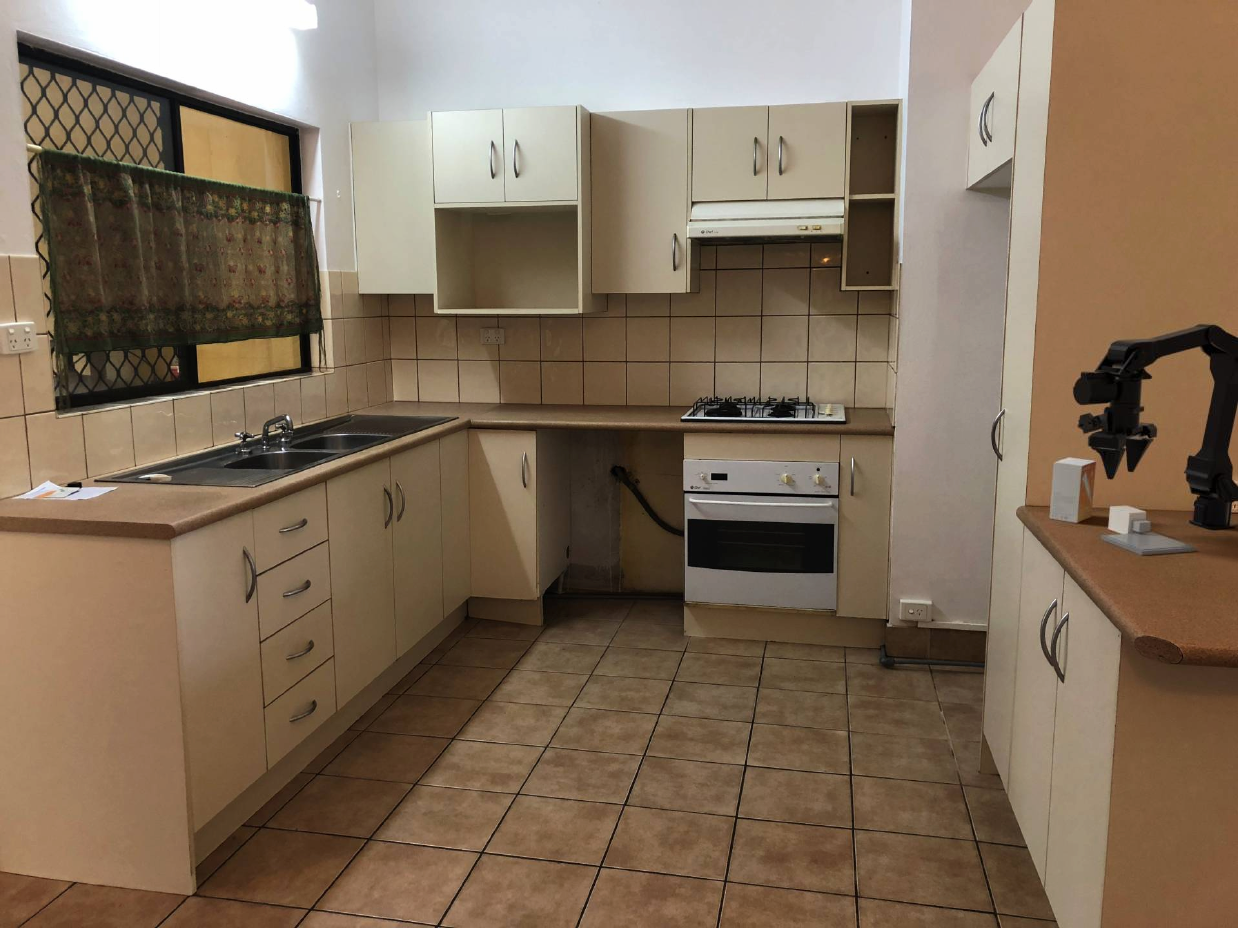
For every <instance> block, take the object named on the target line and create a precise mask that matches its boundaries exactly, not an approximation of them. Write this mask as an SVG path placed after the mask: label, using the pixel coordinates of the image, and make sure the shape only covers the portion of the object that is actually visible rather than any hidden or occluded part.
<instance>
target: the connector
mask: <svg viewBox="0 0 1238 928" xmlns="http://www.w3.org/2000/svg"><path fill="white" fill-rule="evenodd" d="M1146 519H1147V511H1145V510H1143V509H1142V510H1141V509H1138V508H1136V507H1132V506H1130V505H1115V506H1114V505H1113V506H1112V505H1111V506H1110V507H1109V517H1108V527H1107V529H1108V530H1110V531H1113V532H1116V533H1117V534H1129V533H1143V532H1151V525H1152V522H1151V521H1149V520H1146Z"/></svg>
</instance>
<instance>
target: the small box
mask: <svg viewBox="0 0 1238 928" xmlns="http://www.w3.org/2000/svg"><path fill="white" fill-rule="evenodd" d="M1096 467H1097V460H1091V459H1084V458H1077V457H1076V458H1075V457H1070V456H1068V457H1066V458H1064V459H1060V460H1057V461H1054V462H1053V468H1052V469H1053V471H1052V483H1051V484H1052V485H1051V495H1050V496H1051V497H1050V508H1049V510H1050V511H1049V519H1051V520H1055V521H1062V522H1067V523H1074V524H1078V523H1080V522H1082V521H1084V520H1086V519H1089V518H1091V517H1092V513H1093V512H1092V511H1093V501H1094V500H1093V499H1094V488H1095V478H1096Z"/></svg>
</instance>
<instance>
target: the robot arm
mask: <svg viewBox="0 0 1238 928" xmlns="http://www.w3.org/2000/svg"><path fill="white" fill-rule="evenodd" d="M1196 348H1199V349H1200V350H1201V352H1202V353H1204V354H1205V355H1206V356H1208V357H1209V371H1210V373H1211V376H1212V378H1213V389H1212V393H1211V399H1210V404H1209V408H1208V414H1207V419H1206V422H1205V423H1206V424H1205V428H1204V429H1205V430H1204V434H1203V438H1202V444H1201V447H1200V449H1199V450H1198V451H1197V453H1196V454H1195V455H1188V457H1187V460H1186V466H1185V470H1184V472H1183V473H1184V474H1185V480H1186V483H1188V485H1189V490H1190V494H1192V495H1196V502H1195V503H1194V507H1193V517H1192V519H1188V522H1189V523H1190V524H1194V525H1197V526H1200V527H1203V528H1205V529H1209V530H1217V529H1231V528H1236V526H1237V525H1236V524H1233V523H1232V522H1231V517H1232V508H1233V503H1235V502H1238V485H1237V483H1236V482H1235V480H1233V476H1234V475H1233V471H1234V467H1233V464H1232V461H1231V457H1230V455H1229V448H1230V444H1231V440H1232V439H1231V438H1232V435H1233V434H1232V433H1233V429H1234V424H1235V419H1236V414H1237V410H1238V336H1235V335H1233V334H1231V333H1229V332H1228V331H1226V330H1224V329H1223V328H1222V327H1221V326H1219V325H1217V324H1209V323H1199V324H1196V325H1195V326H1192V327H1188V328H1184V329H1181V330H1180V329H1179V330H1177V331H1174V332H1169V333H1165V334H1163V335H1159V336H1155V337H1150V338H1140V339H1139V338H1136V339H1135V338H1133V339H1129V338H1128V339H1117V340H1115V341H1113V342H1112V343H1111V344H1110V346H1109V348H1108V350H1107V352H1106V353H1105V355H1104V357H1103V358H1102V360H1101V361H1100V362H1099V364H1098V365H1097V367H1096V368H1095V370H1094V371H1081V372H1080V377H1079V378H1078V379H1076V381H1075V383H1074V386H1072V394H1073V398H1074V401H1075V402H1076V403H1077V404H1078V405H1080V406H1088V405H1090V406H1091V405H1101V404H1109V406H1105V407H1104V408H1103V413H1101V414H1098V415H1093V414H1092V413H1091V412H1088V413H1085V414H1080V415H1079V417H1078V421H1077V422H1078V424H1077V428H1078V429H1080V430H1082V433H1083V435H1085V434H1089V433H1091V434H1090V435H1089V436H1088V437H1087V446H1088V447H1090V448H1091V450H1092V451H1095V452H1096V453H1097V454H1098V455H1099V456H1100V459H1101V461H1102V465H1103V467H1104V472H1105V475H1106V479H1107V480H1112V481H1113V480H1114V479H1115V477H1116V474H1117V472H1118V470H1119V467H1120V465H1121V462H1122V460H1123V457H1124V456H1125V458H1126V468H1127V473H1128V472H1129V473H1134V472H1135V470H1136V468H1137V467H1138V465H1139V463H1140V461H1141V460H1142V458H1143V457H1144V455H1145V453H1146V452H1147V450H1148V449H1149V447H1150V445H1151V444H1152V443H1153V442H1154V438H1157V435H1158V427H1157V426H1156V425H1155V424H1154V423H1151V422H1143V421H1142V422H1141V421H1140V419H1141V418H1140V417H1141V413H1142V412H1145V406H1142V405H1141V404H1142V403H1141V399H1142V388H1143V385H1142V383H1143V380H1152V379H1153V376H1152V374H1150V373H1149V372H1148V371H1147V370H1146V368H1147V367H1149V366H1152V365H1153V364H1155V362H1156V361H1157V360H1158V359H1161V358H1163V357H1166V356H1170V355H1173V354H1178V353H1182V352H1184V351H1189V350H1192V349H1196ZM1095 431H1096V432H1095ZM1092 432H1093V433H1092ZM1125 454H1126V455H1125Z"/></svg>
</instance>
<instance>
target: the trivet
mask: <svg viewBox="0 0 1238 928" xmlns="http://www.w3.org/2000/svg"><path fill="white" fill-rule="evenodd" d="M1100 539H1101V540H1102V541H1105V542H1106V543H1109V544H1112V545H1115V546H1117V547H1120V548H1122V549H1124V550H1126V551H1130V552H1132V553H1135V554H1137V555H1139V556H1150V555H1164V554H1175V553H1176V554H1177V553H1189V552H1190V553H1192V552H1196V547H1195V546H1192V545H1190V544H1187V543H1184V542H1182V541H1179V540H1176V539H1173V538H1172V537H1171V538H1170V537H1167V536H1165V535H1162V534H1160V533H1156V532H1154V531H1148V532H1143V533H1129V534H1121V533H1117V534H1105V535H1104V534H1103V535H1100Z"/></svg>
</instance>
